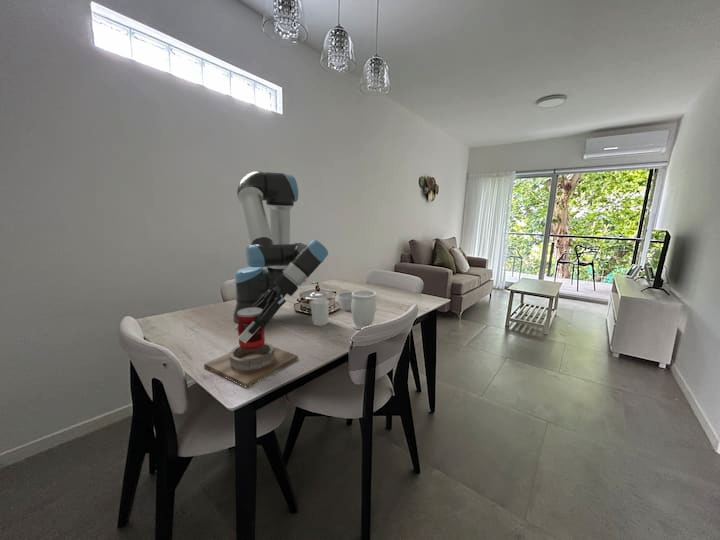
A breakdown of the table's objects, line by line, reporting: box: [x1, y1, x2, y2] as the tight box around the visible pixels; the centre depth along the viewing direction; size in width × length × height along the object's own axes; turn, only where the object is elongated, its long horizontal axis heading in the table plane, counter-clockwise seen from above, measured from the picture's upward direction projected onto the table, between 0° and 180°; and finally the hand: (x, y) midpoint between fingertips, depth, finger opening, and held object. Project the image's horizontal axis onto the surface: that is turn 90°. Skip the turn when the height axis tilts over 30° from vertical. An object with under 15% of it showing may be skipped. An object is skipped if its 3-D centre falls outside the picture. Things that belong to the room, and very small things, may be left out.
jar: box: [350, 290, 377, 331], centre depth 125 cm, size 11×10×15 cm
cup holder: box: [203, 342, 299, 388], centre depth 93 cm, size 20×20×4 cm
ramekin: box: [337, 291, 353, 312], centre depth 151 cm, size 13×13×7 cm
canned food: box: [237, 307, 266, 349], centre depth 91 cm, size 8×8×11 cm
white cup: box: [310, 298, 330, 327], centre depth 128 cm, size 8×8×10 cm
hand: (239, 335), depth 90 cm, fingers closed on canned food, 8 cm apart
